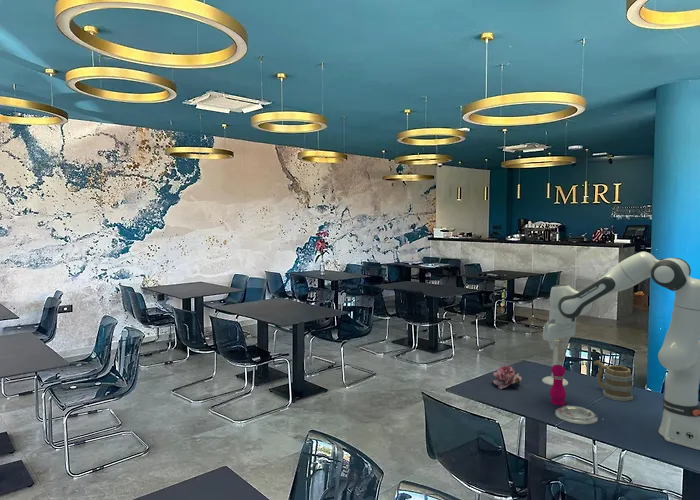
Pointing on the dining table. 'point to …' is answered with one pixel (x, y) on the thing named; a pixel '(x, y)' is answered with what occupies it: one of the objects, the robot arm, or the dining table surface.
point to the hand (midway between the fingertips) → (558, 347)
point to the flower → (506, 377)
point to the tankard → (615, 382)
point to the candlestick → (549, 379)
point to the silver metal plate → (576, 415)
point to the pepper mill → (558, 385)
